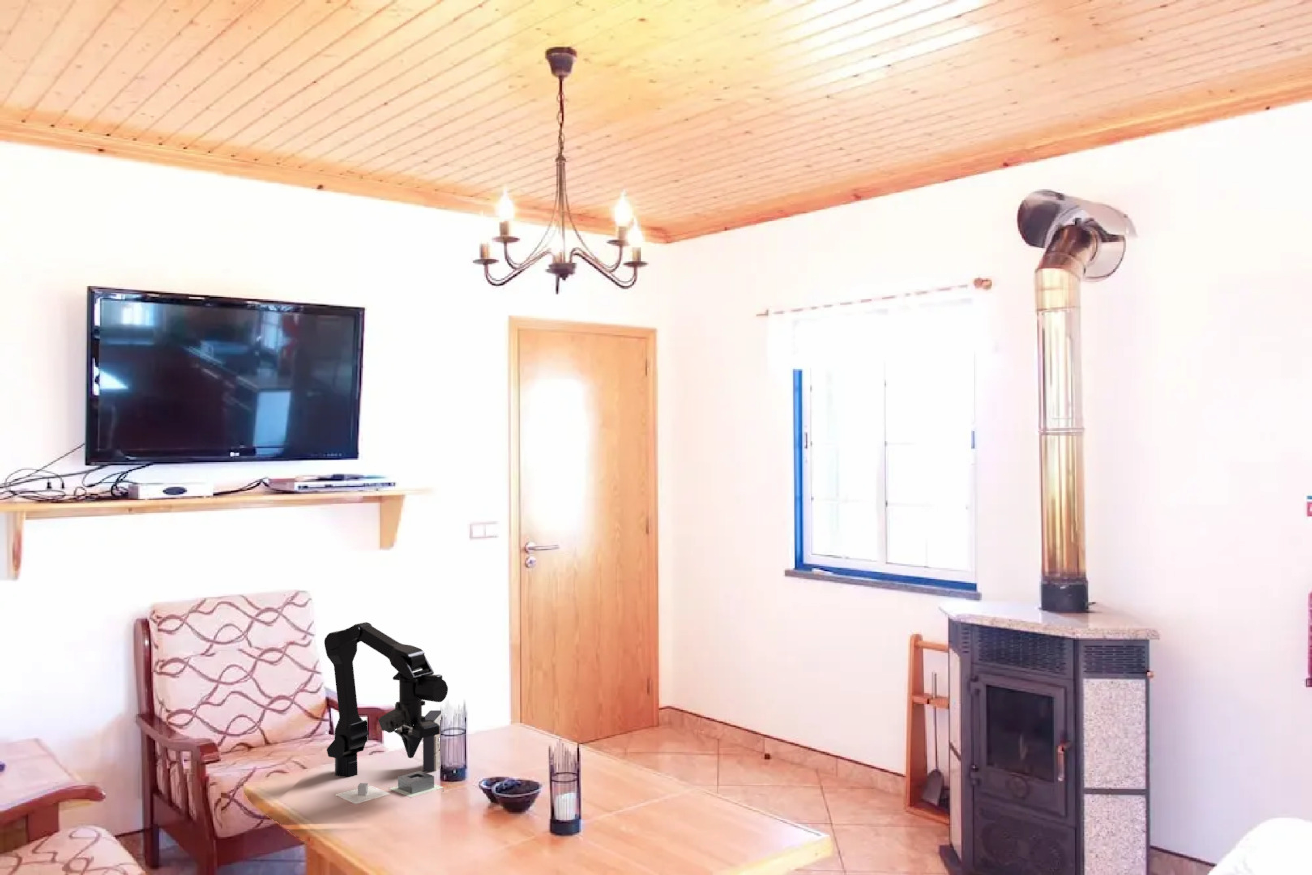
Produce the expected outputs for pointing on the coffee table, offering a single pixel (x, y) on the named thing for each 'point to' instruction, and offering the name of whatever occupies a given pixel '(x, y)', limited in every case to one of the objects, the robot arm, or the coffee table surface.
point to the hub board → (415, 793)
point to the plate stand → (362, 793)
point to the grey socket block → (415, 782)
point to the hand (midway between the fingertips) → (410, 757)
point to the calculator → (431, 744)
